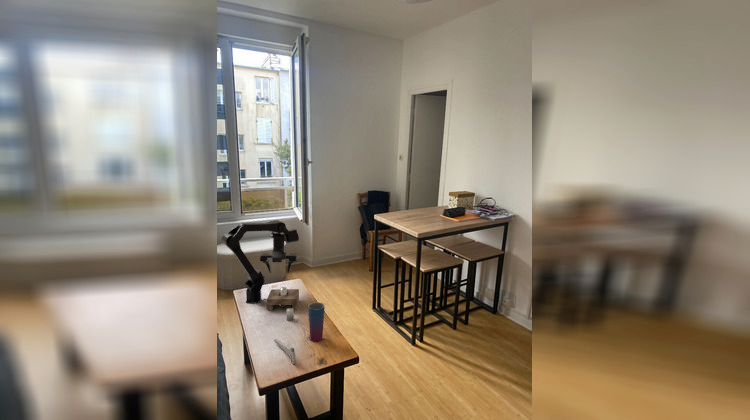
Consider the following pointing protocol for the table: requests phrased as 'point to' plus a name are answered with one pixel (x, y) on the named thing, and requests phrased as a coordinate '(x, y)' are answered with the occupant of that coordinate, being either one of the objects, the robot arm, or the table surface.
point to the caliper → (287, 350)
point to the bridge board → (283, 298)
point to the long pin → (283, 293)
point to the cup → (316, 321)
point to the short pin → (290, 314)
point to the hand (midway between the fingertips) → (279, 272)
